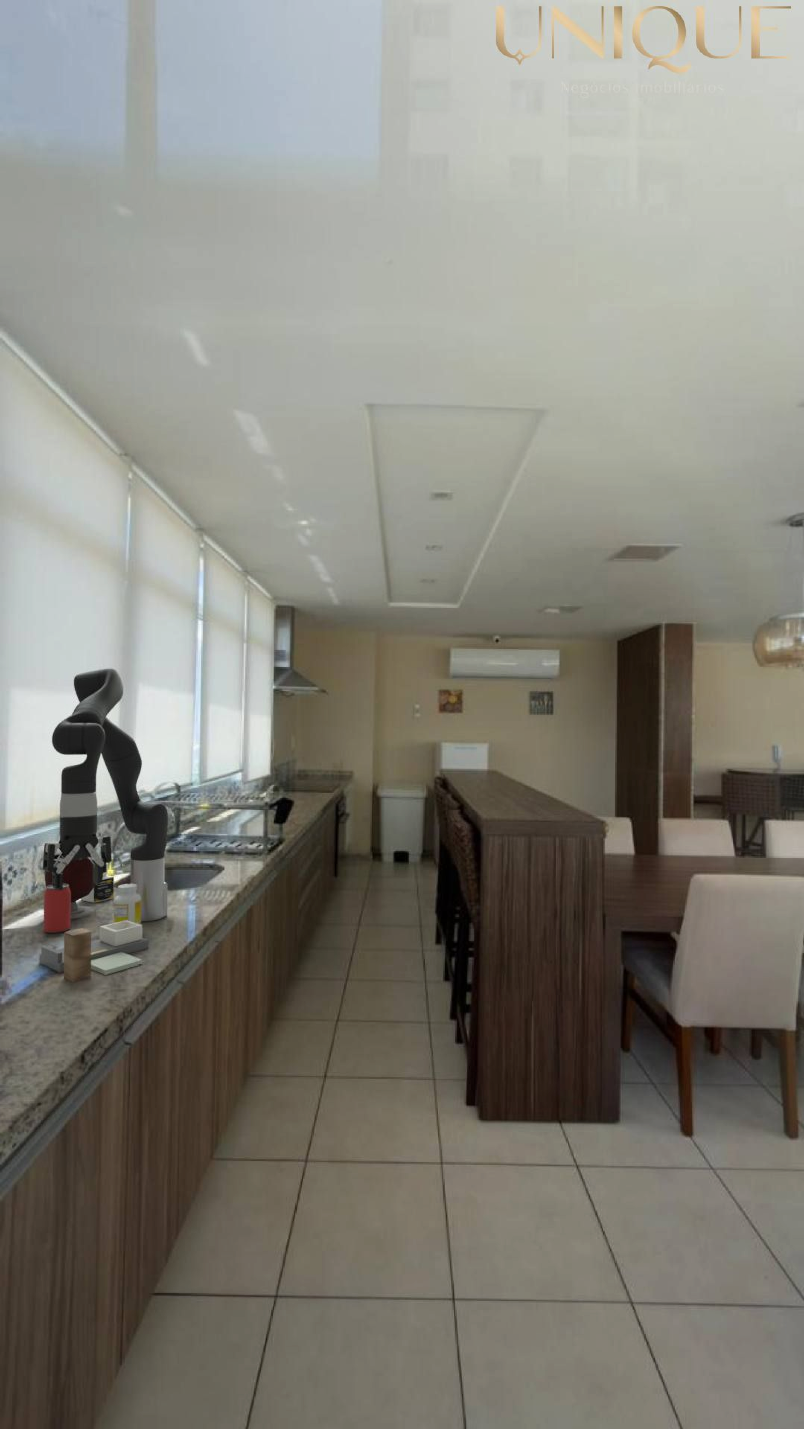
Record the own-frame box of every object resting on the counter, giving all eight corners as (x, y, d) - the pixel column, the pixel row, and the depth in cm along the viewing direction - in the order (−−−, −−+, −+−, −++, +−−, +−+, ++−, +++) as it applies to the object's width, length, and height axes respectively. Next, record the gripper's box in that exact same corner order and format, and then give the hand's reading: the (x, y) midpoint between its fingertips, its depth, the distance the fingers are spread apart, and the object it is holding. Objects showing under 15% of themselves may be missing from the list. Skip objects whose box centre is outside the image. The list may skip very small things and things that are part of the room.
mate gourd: (83, 920, 198) (83, 850, 198) (34, 920, 198) (35, 849, 198) (107, 906, 213) (107, 841, 213) (62, 906, 213) (62, 840, 214)
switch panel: (127, 940, 179) (127, 924, 179) (148, 947, 173) (148, 931, 173) (39, 963, 162) (39, 945, 162) (59, 972, 156) (59, 954, 156)
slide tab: (126, 933, 178) (126, 920, 178) (142, 939, 173) (142, 925, 173) (99, 940, 172) (99, 926, 172) (115, 946, 168) (115, 931, 168)
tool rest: (121, 956, 167) (121, 951, 167) (142, 964, 161) (142, 959, 161) (84, 966, 160) (84, 961, 160) (105, 974, 154) (105, 970, 154)
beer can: (76, 928, 190) (76, 884, 190) (57, 935, 184) (57, 889, 184) (57, 925, 192) (57, 882, 192) (37, 932, 186) (38, 887, 186)
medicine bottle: (93, 903, 217) (94, 864, 217) (80, 900, 221) (80, 862, 221) (114, 898, 223) (114, 860, 223) (100, 895, 227) (100, 858, 227)
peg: (81, 972, 156) (82, 928, 156) (90, 976, 153) (91, 931, 153) (63, 977, 153) (64, 932, 153) (72, 982, 150) (73, 935, 150)
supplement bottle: (136, 928, 189) (137, 881, 190) (143, 934, 184) (144, 886, 184) (111, 933, 186) (111, 884, 186) (117, 939, 180) (117, 889, 180)
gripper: (100, 808, 161) (100, 879, 161) (37, 815, 150) (36, 890, 150) (117, 811, 157) (117, 883, 157) (54, 817, 146) (53, 895, 145)
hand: (78, 886), depth 153 cm, fingers open, 8 cm apart
